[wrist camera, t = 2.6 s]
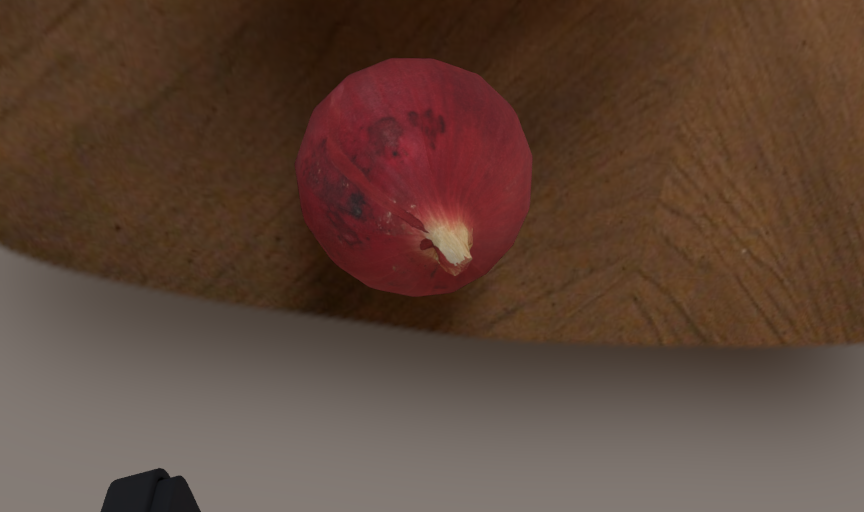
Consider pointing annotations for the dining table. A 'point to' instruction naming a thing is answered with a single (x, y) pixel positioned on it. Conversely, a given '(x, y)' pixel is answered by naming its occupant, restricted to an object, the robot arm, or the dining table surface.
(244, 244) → the dining table surface
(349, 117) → the onion
